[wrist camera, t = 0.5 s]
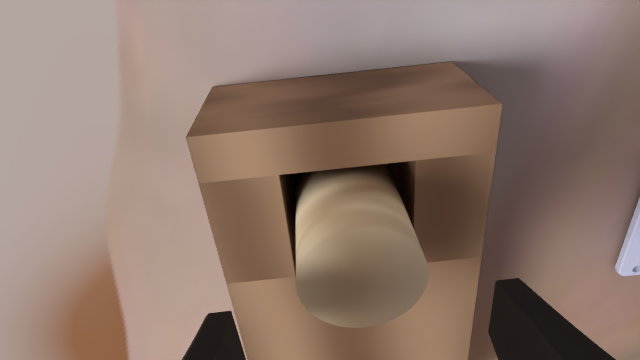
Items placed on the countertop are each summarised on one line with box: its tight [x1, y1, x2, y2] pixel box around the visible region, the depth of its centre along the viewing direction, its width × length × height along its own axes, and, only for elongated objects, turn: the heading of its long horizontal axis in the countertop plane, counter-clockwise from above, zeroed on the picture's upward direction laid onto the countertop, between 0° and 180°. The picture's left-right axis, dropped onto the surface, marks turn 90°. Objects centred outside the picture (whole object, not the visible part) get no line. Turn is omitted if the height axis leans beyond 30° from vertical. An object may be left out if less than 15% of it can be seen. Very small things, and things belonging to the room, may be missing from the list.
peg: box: [296, 164, 429, 328], centre depth 15 cm, size 4×4×5 cm
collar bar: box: [186, 62, 502, 360], centre depth 21 cm, size 10×20×5 cm, turn 5°
